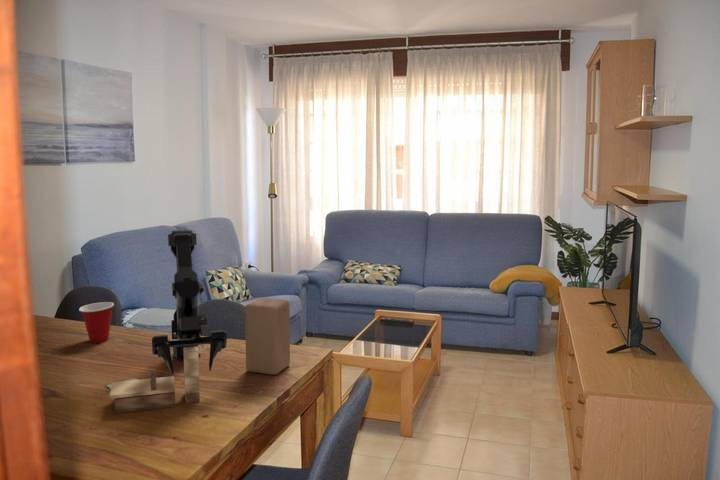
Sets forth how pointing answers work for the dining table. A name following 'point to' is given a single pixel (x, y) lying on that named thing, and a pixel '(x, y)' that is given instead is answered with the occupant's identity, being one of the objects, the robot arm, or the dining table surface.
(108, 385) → the felt pad
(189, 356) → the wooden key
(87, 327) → the plastic cup
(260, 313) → the wooden block
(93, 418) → the dining table surface
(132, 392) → the lid
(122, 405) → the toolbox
